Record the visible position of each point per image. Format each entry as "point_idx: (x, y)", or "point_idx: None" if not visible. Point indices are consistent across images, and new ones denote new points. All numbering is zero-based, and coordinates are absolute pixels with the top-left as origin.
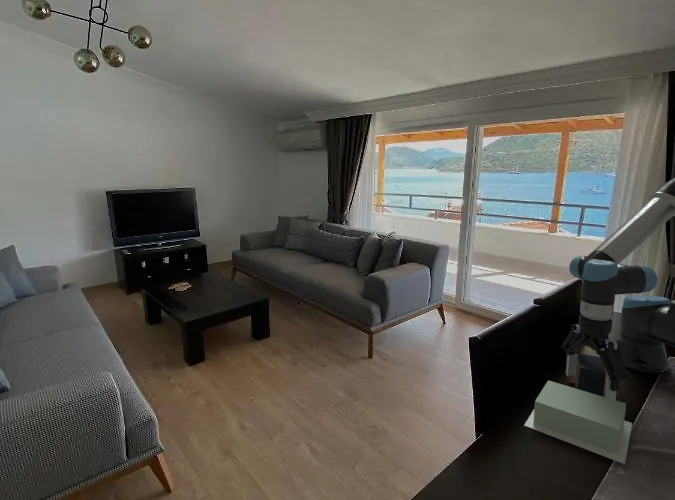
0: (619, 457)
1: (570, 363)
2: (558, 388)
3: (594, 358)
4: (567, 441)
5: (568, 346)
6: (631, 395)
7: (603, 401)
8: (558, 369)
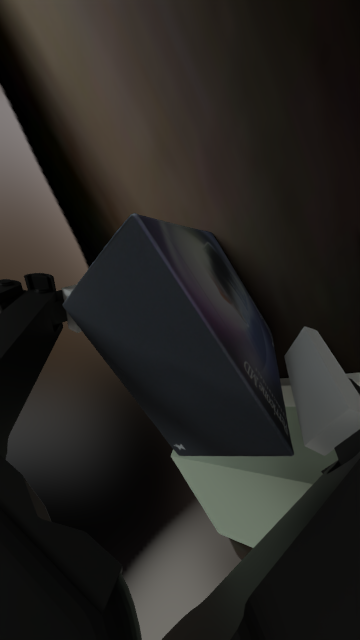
0: None
1: None
2: (209, 481)
3: (131, 304)
4: None
5: (8, 305)
6: (316, 120)
7: None
8: (91, 233)
